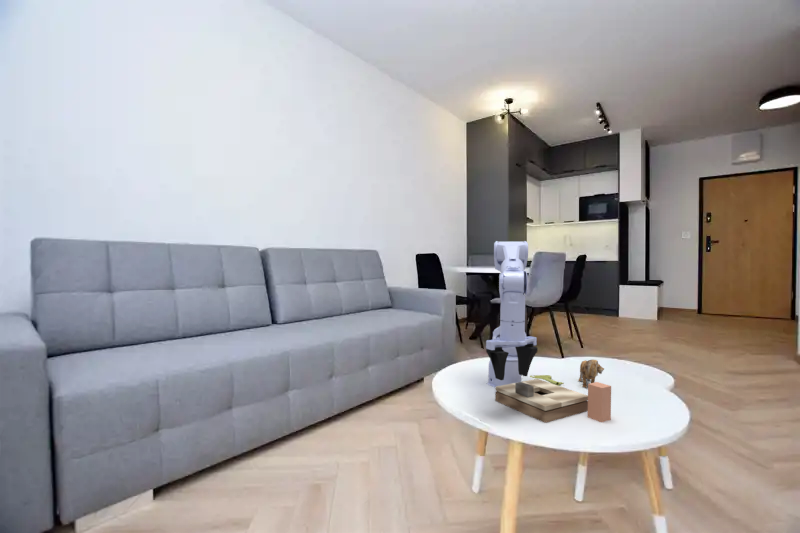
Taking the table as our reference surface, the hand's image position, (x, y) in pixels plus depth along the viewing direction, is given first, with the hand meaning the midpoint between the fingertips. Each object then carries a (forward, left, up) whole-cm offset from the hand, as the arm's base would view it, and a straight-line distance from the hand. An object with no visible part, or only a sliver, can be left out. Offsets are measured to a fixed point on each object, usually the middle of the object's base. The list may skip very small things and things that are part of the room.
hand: (511, 377), depth 90 cm
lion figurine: (-7, +41, -10) cm, 43 cm away
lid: (-1, +11, -6) cm, 13 cm away
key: (-16, +32, -10) cm, 37 cm away
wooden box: (-1, +11, -10) cm, 15 cm away
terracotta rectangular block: (+11, +17, -10) cm, 23 cm away
